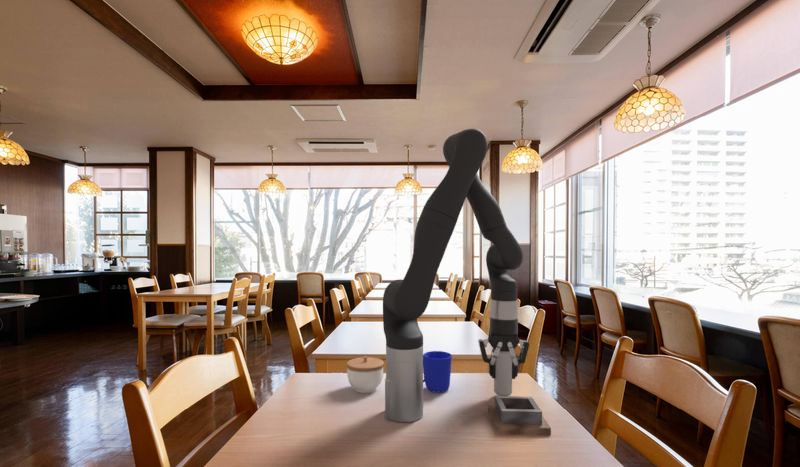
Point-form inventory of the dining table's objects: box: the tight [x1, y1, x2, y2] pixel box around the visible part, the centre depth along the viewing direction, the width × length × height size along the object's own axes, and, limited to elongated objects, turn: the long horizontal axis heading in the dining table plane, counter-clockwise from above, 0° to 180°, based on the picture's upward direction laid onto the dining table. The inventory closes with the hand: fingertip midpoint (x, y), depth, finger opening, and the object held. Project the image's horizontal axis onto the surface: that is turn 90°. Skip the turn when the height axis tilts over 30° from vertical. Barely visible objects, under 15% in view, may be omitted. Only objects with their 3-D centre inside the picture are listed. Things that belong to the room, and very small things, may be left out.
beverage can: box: [493, 351, 513, 396], centre depth 116 cm, size 5×5×12 cm
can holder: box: [487, 395, 552, 436], centre depth 100 cm, size 12×12×4 cm
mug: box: [423, 350, 453, 393], centre depth 122 cm, size 8×12×10 cm
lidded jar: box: [346, 355, 385, 394], centre depth 122 cm, size 11×11×9 cm
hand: (503, 377), depth 116 cm, fingers closed on beverage can, 5 cm apart
